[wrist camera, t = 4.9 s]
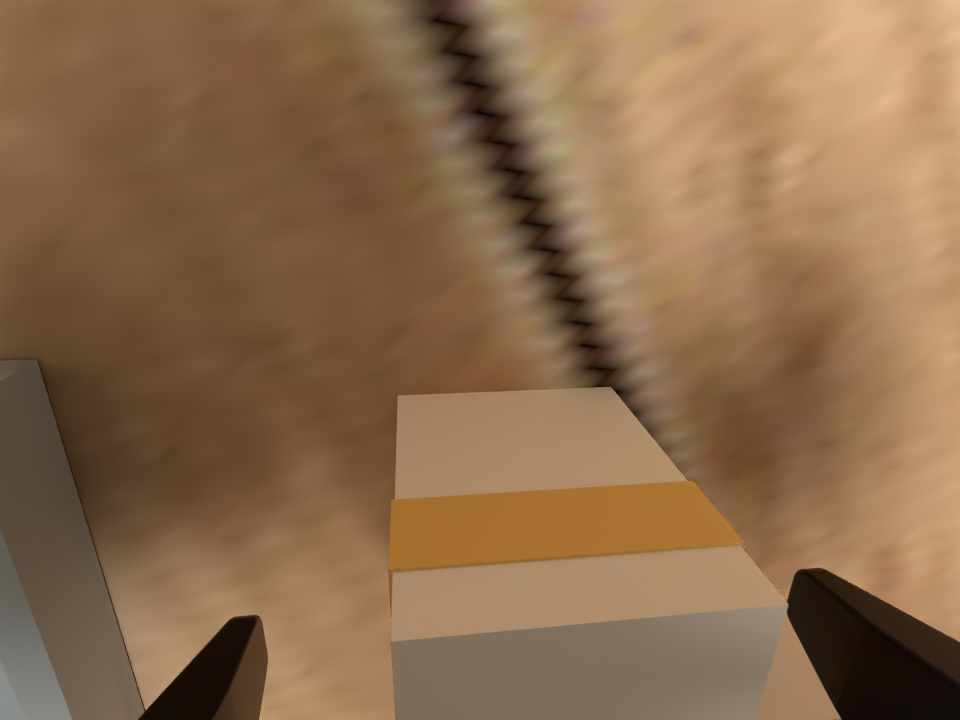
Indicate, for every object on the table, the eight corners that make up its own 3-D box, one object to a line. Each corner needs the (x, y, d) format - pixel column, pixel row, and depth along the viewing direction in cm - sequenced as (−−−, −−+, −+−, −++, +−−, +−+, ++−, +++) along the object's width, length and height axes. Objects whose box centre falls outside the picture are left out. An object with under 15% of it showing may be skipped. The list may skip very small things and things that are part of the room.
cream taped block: (613, 383, 12) (793, 600, 6) (593, 556, 14) (722, 843, 8) (395, 392, 11) (385, 638, 6) (403, 570, 13) (402, 889, 8)
